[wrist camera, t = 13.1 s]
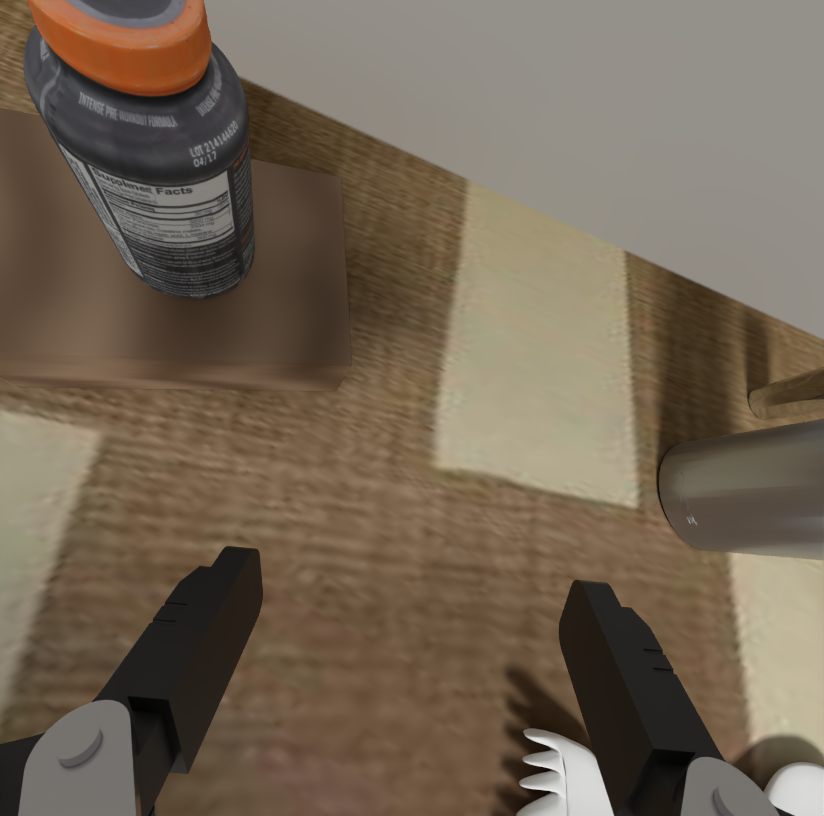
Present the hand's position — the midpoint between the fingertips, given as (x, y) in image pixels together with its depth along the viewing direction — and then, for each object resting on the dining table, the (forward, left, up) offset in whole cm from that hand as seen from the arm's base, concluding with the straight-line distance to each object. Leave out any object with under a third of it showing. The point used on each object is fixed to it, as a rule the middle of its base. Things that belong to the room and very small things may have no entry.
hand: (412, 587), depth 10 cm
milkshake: (-44, -9, -15) cm, 47 cm away
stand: (+7, -15, -15) cm, 22 cm away
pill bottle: (+7, -15, -10) cm, 19 cm away
